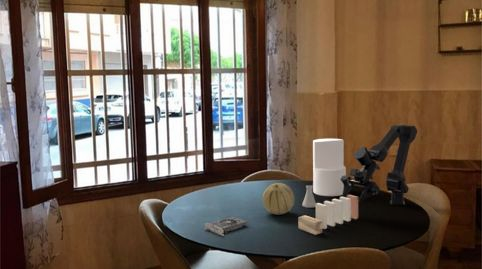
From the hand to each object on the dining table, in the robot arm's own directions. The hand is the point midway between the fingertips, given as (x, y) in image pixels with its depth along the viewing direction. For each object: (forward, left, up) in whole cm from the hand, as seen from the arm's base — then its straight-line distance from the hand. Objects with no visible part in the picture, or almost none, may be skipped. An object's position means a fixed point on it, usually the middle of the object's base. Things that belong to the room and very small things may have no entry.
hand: (350, 199), depth 215 cm
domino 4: (+3, -2, -9) cm, 9 cm away
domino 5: (-1, +1, -9) cm, 9 cm away
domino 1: (+14, -12, -9) cm, 21 cm away
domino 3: (+7, -6, -9) cm, 12 cm away
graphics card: (+22, -51, -9) cm, 56 cm away
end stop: (+19, -16, -9) cm, 27 cm away
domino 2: (+11, -9, -9) cm, 16 cm away
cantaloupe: (-1, -33, -9) cm, 34 cm away
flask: (-16, -20, -9) cm, 27 cm away
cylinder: (-44, -12, -9) cm, 47 cm away
